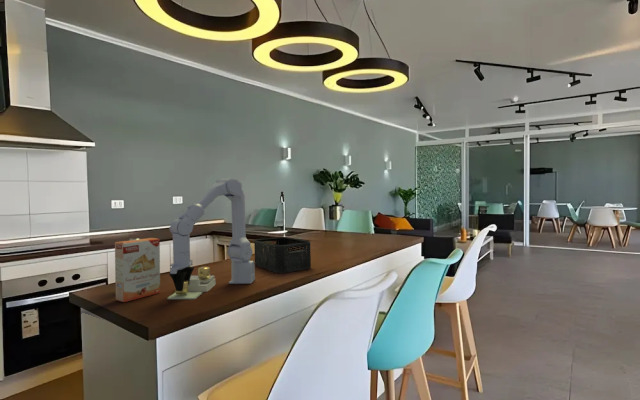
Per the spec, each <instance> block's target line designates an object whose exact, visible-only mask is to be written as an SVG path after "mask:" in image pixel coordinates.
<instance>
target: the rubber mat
mask: <svg viewBox="0 0 640 400" xmlns="http://www.w3.org/2000/svg"><path fill="white" fill-rule="evenodd" d="M200 295H203V292H188V293H186V294H176V291H175V292H173V294H171V295H169V296H168V297H167V298H166V299H167V300H196V299H197V298H199V297H200Z"/></svg>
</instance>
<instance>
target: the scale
mask: <svg viewBox="0 0 640 400" xmlns="http://www.w3.org/2000/svg"><path fill="white" fill-rule="evenodd" d="M216 284H217V283H216V278H213V279H212V280H211V281H209V282H200V279H190V281H189V286H188V292H202V293H208V291H210V290H211V289H212V288H214V287H215V286H216Z"/></svg>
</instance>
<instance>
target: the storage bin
mask: <svg viewBox="0 0 640 400" xmlns="http://www.w3.org/2000/svg"><path fill="white" fill-rule="evenodd" d="M253 241H254V246H253V247H254V264H255V266H256V265H257V267H260V268H262V269H265V270H268V271H270V272H273V273H277V274H286V273H292V272H293V273H294V272H298V271H304V270H308V269H311V268H312V263H311V261H312V260H311V257H312V256H311V253H312V252H311V241H310V240H306V239H305V240H304V239H299V238H294V237H290V236H289V237H288V236H278V237H269V238H258V239H254V240H253ZM273 241H276V242H275V243H274V244H272V243H269V242H273ZM267 242H268V243H267Z"/></svg>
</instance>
